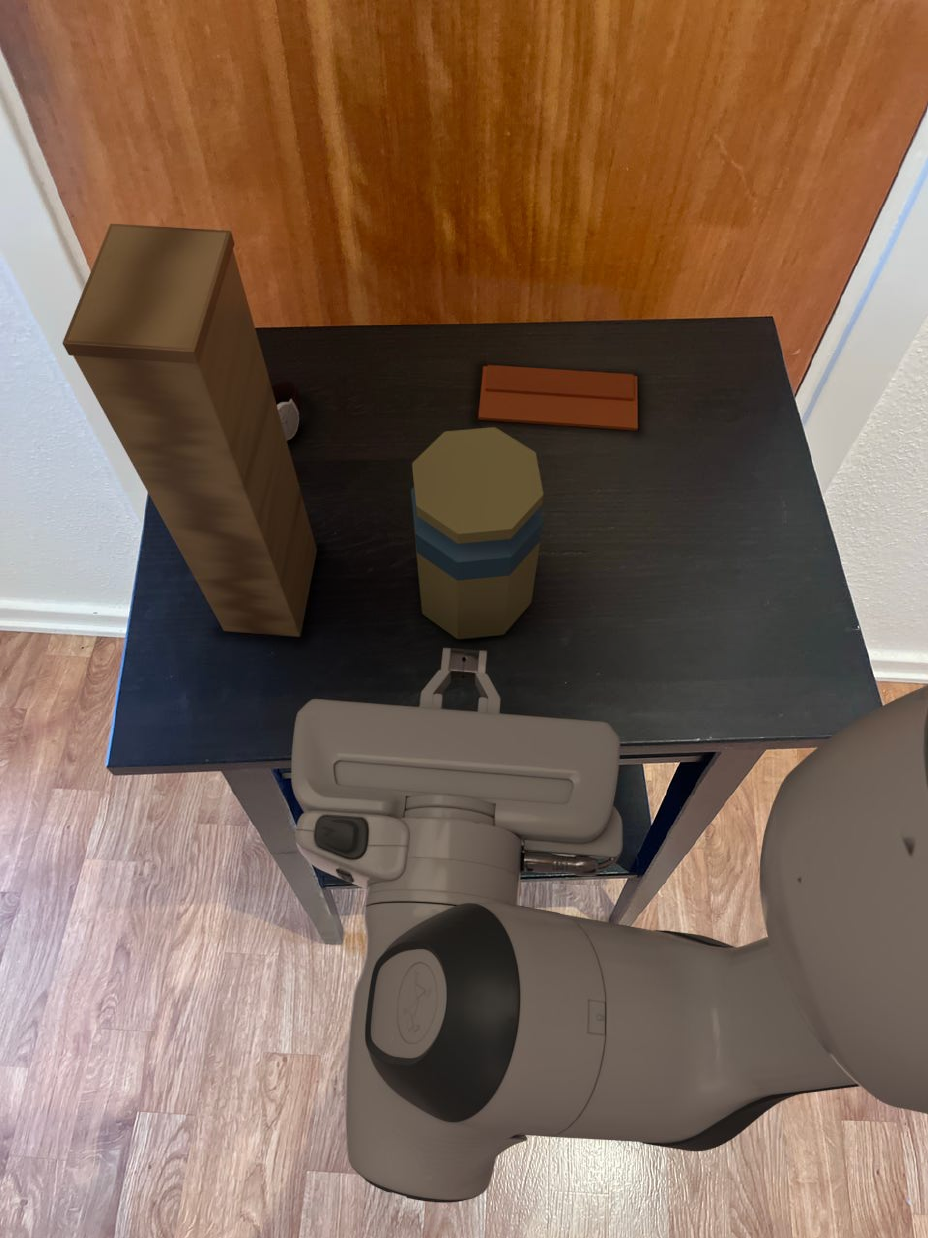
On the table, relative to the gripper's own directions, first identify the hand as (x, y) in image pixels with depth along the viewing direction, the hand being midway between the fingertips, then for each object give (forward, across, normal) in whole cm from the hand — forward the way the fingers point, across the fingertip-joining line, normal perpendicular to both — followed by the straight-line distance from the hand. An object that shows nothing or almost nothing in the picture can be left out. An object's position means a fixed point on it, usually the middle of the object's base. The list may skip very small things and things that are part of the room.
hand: (465, 652), depth 57 cm
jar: (+9, 0, +8) cm, 12 cm away
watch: (+24, +19, +8) cm, 31 cm away
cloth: (+29, -6, +8) cm, 31 cm away
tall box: (+8, +16, +8) cm, 19 cm away
